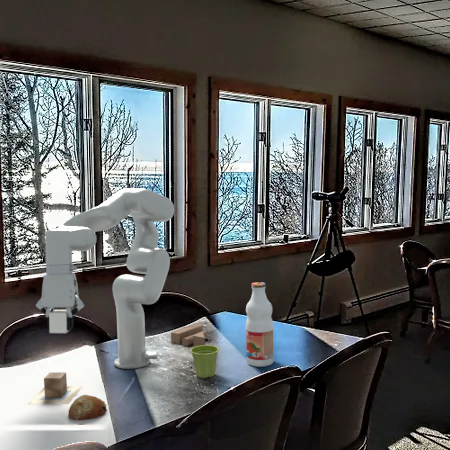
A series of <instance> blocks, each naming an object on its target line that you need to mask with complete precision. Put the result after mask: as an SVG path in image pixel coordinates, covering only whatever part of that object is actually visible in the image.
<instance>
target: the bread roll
mask: <svg viewBox="0 0 450 450" xmlns="http://www.w3.org/2000/svg"><path fill="white" fill-rule="evenodd" d="M107 411H108V409H107V404H106V403H105V401H104V400H102V399H101V398H98V397H97V396H93V395H88V394H83V395H81V396H78V397H77V398H75V399H74V400H73V402H72V403H71V404H70V407H69V409H68V418H69V419H70V420H72V421H87V420H92V419H97V418H99V417H103V416H105V414H106V413H107ZM79 425H84V423H79Z"/></svg>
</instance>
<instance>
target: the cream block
mask: <svg viewBox="0 0 450 450" xmlns="http://www.w3.org/2000/svg"><path fill="white" fill-rule="evenodd" d="M67 317H68V313H67V310H66V309H54V310H53V311H52V312H50V313H49V327H48V330H49V329H50V330H49V334H67V333H68V332H69V331H68V330H67Z"/></svg>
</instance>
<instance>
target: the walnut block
mask: <svg viewBox="0 0 450 450" xmlns="http://www.w3.org/2000/svg"><path fill="white" fill-rule="evenodd" d="M67 379H68V378H67V372H65V371H64V372H63V371H61V372H52V371H51V372H49V373H48V374H47V375H46V376H45V377H44V378H43V386H44V387H43V388H44V390H45V398H62V397H63V396H64V395H65V394H66V392H67V386H68V384H67Z"/></svg>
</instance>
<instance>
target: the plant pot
mask: <svg viewBox="0 0 450 450" xmlns="http://www.w3.org/2000/svg"><path fill="white" fill-rule="evenodd" d="M219 351H220V348H219V347H218V346H216V345H209V344H205V345H201V346H196V347H194V346H193V347H191V348H190V353H191V356H192V358H193V364H194V369H195V375H196V376H197V377H198V378H203V379H207V378H209V377H210V378H211V377H214V376H215V374H216V368H217V367H216V365H217V359H218V358H217V357H218V354H219V353H218V352H219Z"/></svg>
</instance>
